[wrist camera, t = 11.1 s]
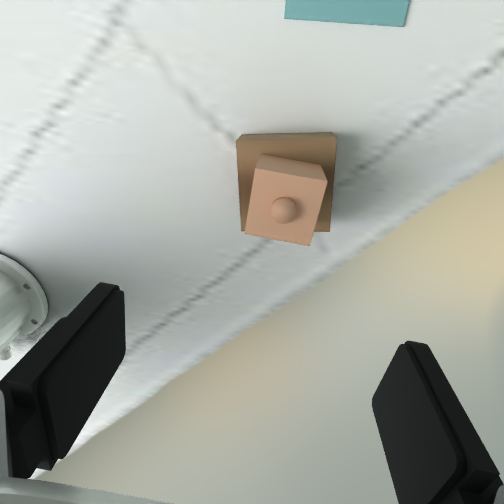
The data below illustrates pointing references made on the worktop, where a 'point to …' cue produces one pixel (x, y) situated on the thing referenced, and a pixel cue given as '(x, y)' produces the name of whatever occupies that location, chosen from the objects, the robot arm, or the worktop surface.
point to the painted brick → (285, 199)
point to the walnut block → (290, 147)
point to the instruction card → (349, 11)
